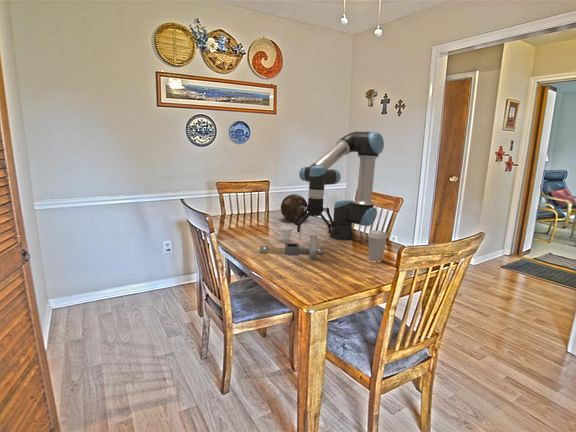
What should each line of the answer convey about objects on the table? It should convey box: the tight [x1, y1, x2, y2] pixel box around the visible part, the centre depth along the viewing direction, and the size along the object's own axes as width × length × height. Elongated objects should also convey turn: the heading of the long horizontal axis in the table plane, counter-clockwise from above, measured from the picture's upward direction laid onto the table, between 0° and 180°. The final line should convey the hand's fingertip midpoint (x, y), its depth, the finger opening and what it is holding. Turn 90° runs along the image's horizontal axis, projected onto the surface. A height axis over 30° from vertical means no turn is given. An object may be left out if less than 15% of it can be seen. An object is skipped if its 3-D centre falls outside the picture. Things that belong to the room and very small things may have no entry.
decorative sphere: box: [280, 193, 308, 222], centre depth 246 cm, size 20×20×20 cm
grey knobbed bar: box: [259, 242, 325, 256], centre depth 179 cm, size 34×7×4 cm, turn 91°
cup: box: [274, 226, 293, 243], centre depth 198 cm, size 7×10×8 cm
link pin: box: [308, 234, 318, 260], centre depth 170 cm, size 4×4×12 cm
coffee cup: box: [367, 229, 388, 262], centre depth 170 cm, size 10×10×15 cm
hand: (313, 239), depth 169 cm, fingers open, 13 cm apart
